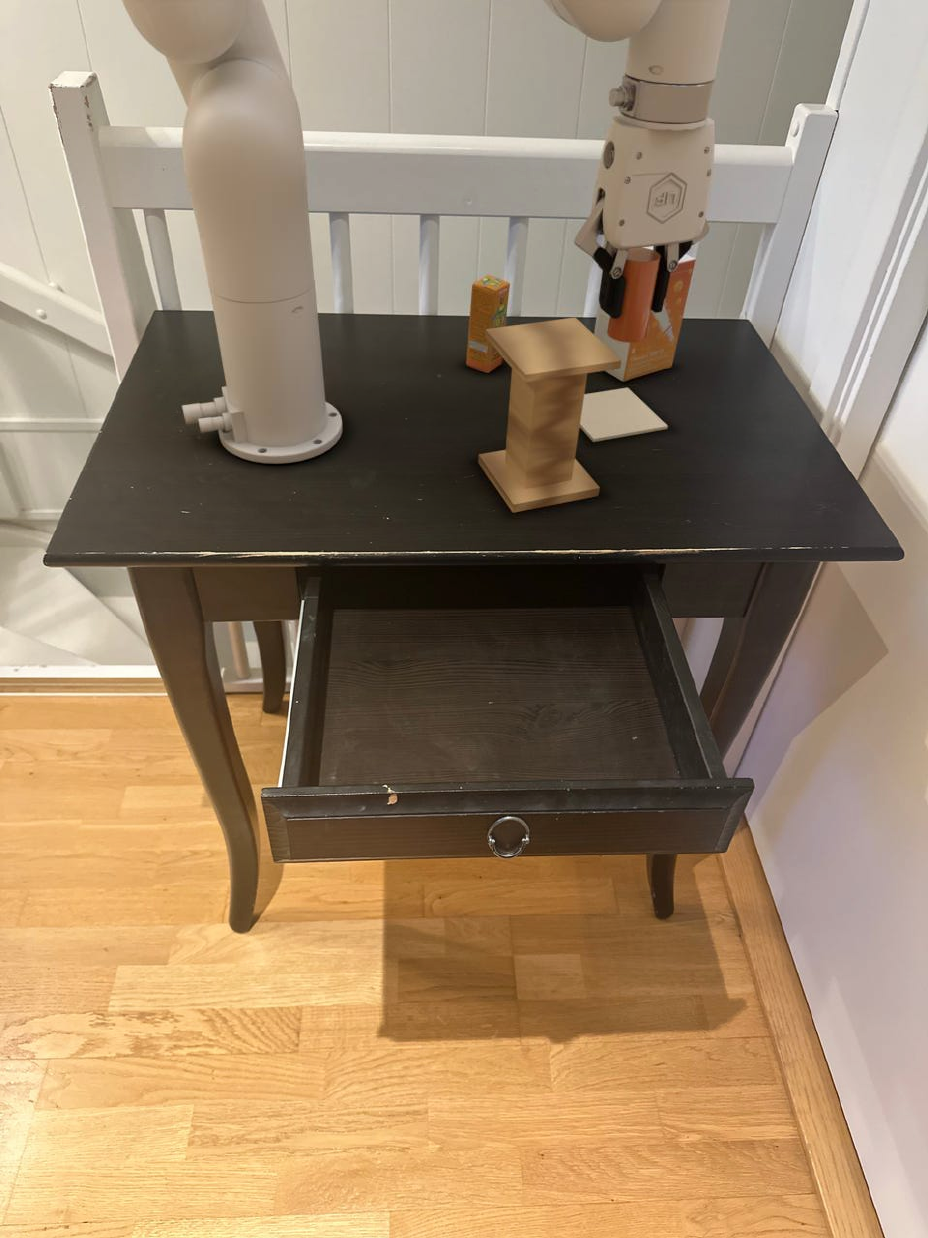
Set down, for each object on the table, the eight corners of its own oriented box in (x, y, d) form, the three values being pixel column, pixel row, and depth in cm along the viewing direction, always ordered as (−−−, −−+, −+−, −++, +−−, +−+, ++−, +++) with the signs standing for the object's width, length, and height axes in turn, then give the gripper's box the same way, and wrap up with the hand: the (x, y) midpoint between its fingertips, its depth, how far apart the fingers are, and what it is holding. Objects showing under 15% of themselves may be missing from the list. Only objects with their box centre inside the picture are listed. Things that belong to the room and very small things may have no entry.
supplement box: (489, 374, 98) (494, 289, 91) (465, 366, 100) (468, 281, 93) (504, 364, 100) (510, 280, 94) (480, 356, 102) (485, 272, 95)
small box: (623, 383, 98) (643, 270, 89) (588, 361, 102) (604, 251, 93) (673, 367, 101) (698, 257, 92) (638, 347, 105) (658, 239, 96)
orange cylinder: (618, 345, 84) (631, 263, 79) (600, 328, 87) (611, 249, 81) (653, 339, 85) (668, 259, 80) (634, 323, 88) (647, 244, 82)
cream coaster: (593, 442, 88) (593, 438, 88) (556, 401, 94) (557, 398, 94) (667, 429, 91) (668, 425, 90) (627, 390, 97) (627, 387, 96)
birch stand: (512, 513, 78) (525, 374, 69) (478, 462, 84) (485, 328, 75) (598, 496, 81) (622, 359, 71) (558, 448, 87) (575, 316, 77)
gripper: (598, 117, 67) (571, 336, 80) (773, 105, 72) (722, 315, 84) (558, 95, 72) (539, 305, 85) (723, 86, 77) (682, 286, 89)
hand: (630, 308), depth 84 cm, fingers closed on orange cylinder, 4 cm apart
